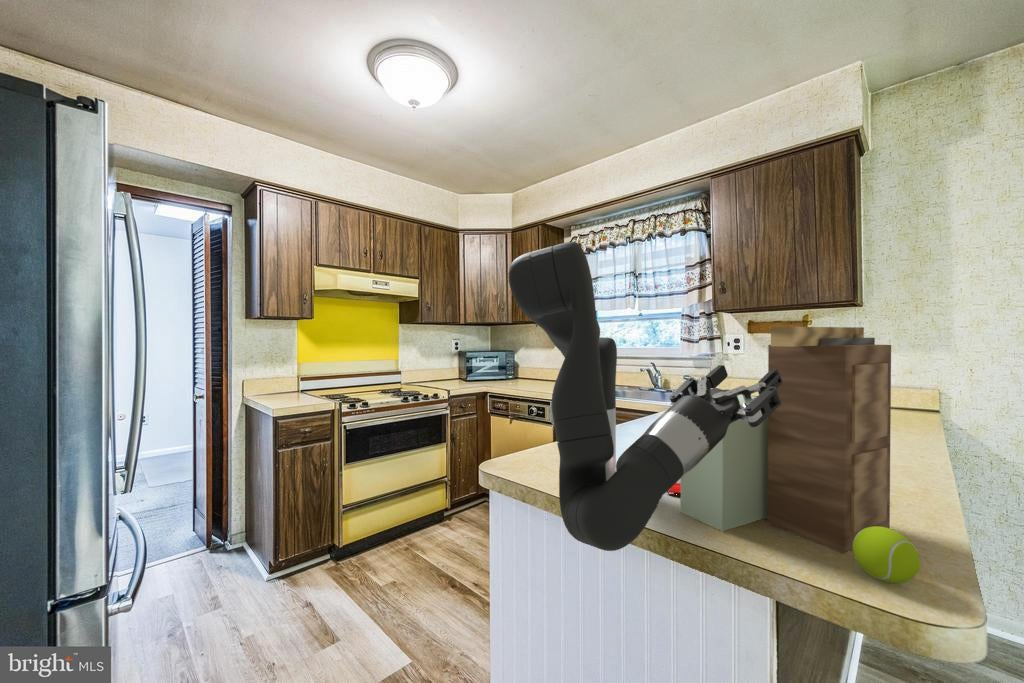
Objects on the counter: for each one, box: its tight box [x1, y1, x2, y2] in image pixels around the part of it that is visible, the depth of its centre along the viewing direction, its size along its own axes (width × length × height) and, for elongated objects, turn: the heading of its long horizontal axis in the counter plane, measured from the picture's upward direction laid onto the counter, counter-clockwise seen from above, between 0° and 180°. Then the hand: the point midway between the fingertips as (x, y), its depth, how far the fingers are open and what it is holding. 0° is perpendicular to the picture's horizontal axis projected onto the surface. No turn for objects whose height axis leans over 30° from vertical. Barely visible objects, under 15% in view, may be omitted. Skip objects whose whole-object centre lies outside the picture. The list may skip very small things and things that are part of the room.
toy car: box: [666, 478, 681, 498], centre depth 95 cm, size 12×5×3 cm, turn 160°
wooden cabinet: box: [767, 337, 892, 554], centre depth 74 cm, size 14×12×33 cm
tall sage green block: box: [680, 395, 768, 532], centre depth 81 cm, size 16×9×22 cm, turn 116°
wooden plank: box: [770, 326, 865, 347], centre depth 72 cm, size 24×4×3 cm, turn 121°
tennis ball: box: [852, 526, 921, 584], centre depth 59 cm, size 7×7×7 cm
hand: (749, 372), depth 65 cm, fingers open, 8 cm apart
